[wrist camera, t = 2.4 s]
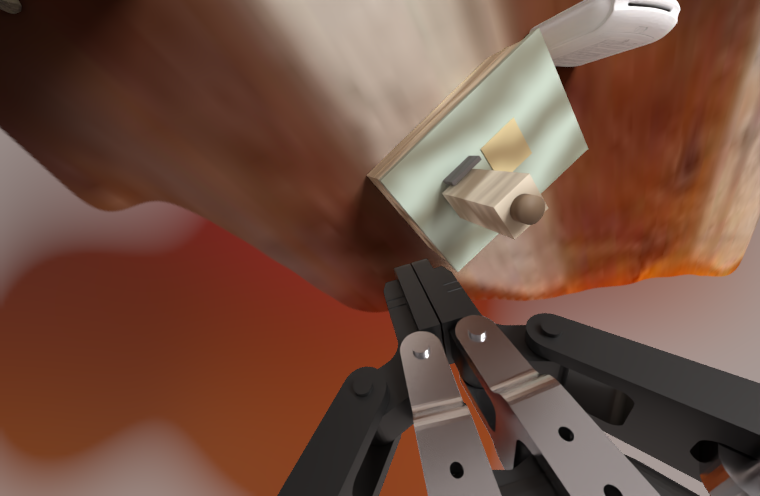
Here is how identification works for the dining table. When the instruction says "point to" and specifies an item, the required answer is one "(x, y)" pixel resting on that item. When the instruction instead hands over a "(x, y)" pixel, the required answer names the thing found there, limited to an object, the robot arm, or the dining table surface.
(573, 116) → the rectangular block
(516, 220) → the wooden knobbed block
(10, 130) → the dining table surface
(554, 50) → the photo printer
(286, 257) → the dining table surface
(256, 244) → the dining table surface
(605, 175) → the dining table surface
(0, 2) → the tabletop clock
